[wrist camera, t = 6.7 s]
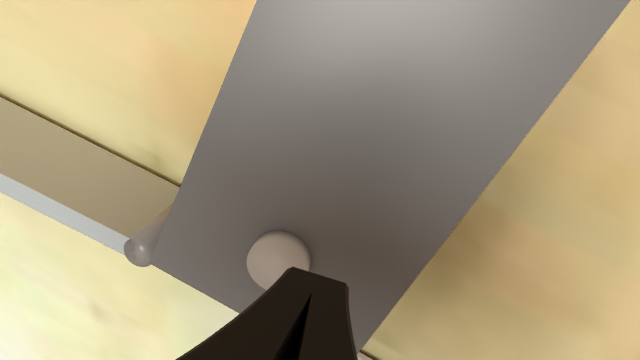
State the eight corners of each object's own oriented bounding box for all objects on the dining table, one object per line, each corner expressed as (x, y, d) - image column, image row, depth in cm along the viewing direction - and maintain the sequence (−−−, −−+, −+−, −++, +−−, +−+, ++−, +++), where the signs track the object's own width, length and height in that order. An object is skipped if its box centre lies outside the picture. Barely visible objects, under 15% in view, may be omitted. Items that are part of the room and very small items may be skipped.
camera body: (359, 289, 21) (341, 384, 16) (203, 201, 21) (134, 269, 16) (591, -38, 15) (685, -55, 9) (368, -167, 14) (341, -255, 9)
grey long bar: (208, 197, 20) (157, 247, 16) (196, 228, 21) (145, 283, 17) (-63, 61, 20) (-180, 77, 16) (-65, 96, 21) (-177, 120, 17)
